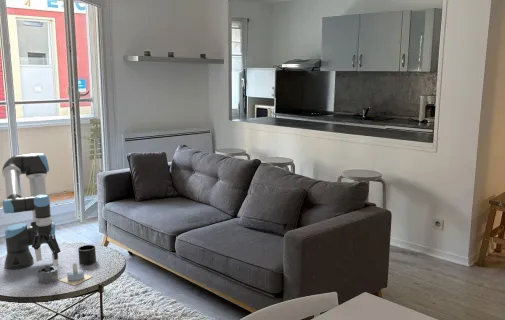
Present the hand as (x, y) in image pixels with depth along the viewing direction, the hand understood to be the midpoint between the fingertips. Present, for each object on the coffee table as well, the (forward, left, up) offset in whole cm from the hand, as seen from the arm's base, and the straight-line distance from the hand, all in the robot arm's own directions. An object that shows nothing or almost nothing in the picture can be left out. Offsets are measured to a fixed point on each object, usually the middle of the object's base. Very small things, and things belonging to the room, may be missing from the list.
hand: (47, 262), depth 258 cm
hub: (+12, +8, -10) cm, 17 cm away
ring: (0, 0, -10) cm, 10 cm away
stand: (0, 0, -10) cm, 10 cm away
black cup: (0, +27, -10) cm, 29 cm away
